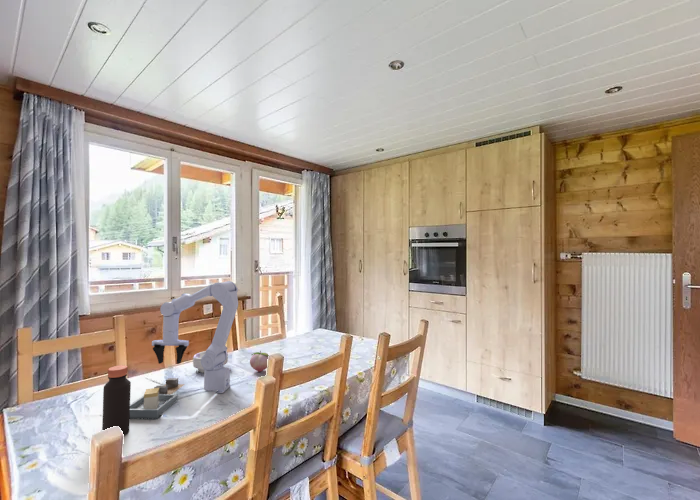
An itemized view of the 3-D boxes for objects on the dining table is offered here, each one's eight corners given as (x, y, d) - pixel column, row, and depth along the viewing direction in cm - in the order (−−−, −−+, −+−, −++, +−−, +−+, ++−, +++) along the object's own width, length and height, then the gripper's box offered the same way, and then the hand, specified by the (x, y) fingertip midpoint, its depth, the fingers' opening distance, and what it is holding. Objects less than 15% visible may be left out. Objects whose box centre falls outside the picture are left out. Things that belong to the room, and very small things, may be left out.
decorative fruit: (272, 369, 161) (273, 348, 161) (266, 375, 153) (267, 353, 153) (253, 368, 162) (254, 347, 162) (247, 374, 153) (247, 352, 154)
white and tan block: (158, 404, 120) (159, 387, 120) (156, 410, 115) (157, 392, 115) (146, 406, 118) (146, 389, 118) (143, 412, 113) (144, 394, 114)
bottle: (98, 442, 96) (101, 372, 96) (105, 431, 102) (107, 365, 102) (126, 437, 98) (128, 369, 99) (131, 427, 105) (133, 363, 105)
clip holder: (184, 386, 138) (184, 377, 138) (167, 400, 125) (167, 389, 125) (165, 386, 138) (165, 376, 138) (146, 399, 125) (146, 389, 125)
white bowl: (188, 369, 159) (189, 352, 159) (220, 363, 169) (220, 347, 169) (198, 378, 147) (199, 360, 148) (232, 371, 158) (232, 354, 158)
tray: (177, 402, 123) (177, 394, 123) (157, 419, 110) (157, 410, 110) (145, 402, 123) (145, 394, 123) (121, 418, 110) (121, 409, 110)
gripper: (192, 328, 143) (191, 360, 143) (158, 328, 143) (158, 359, 143) (184, 332, 136) (183, 365, 136) (149, 331, 136) (148, 365, 136)
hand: (169, 363), depth 139 cm, fingers open, 7 cm apart
